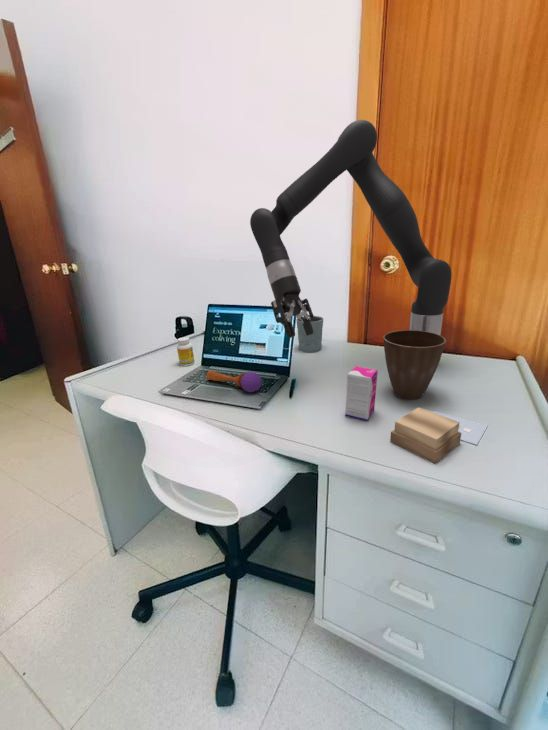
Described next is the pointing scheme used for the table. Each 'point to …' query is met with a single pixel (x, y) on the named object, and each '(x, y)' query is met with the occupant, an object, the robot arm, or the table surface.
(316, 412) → the table surface
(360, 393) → the supplement box
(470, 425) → the page
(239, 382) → the kendama
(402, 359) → the plant pot
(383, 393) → the table surface
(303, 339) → the gray cup
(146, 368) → the table surface
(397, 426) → the base block
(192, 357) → the supplement bottle
